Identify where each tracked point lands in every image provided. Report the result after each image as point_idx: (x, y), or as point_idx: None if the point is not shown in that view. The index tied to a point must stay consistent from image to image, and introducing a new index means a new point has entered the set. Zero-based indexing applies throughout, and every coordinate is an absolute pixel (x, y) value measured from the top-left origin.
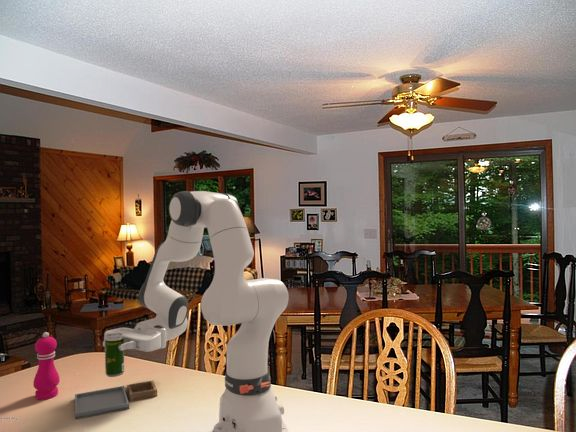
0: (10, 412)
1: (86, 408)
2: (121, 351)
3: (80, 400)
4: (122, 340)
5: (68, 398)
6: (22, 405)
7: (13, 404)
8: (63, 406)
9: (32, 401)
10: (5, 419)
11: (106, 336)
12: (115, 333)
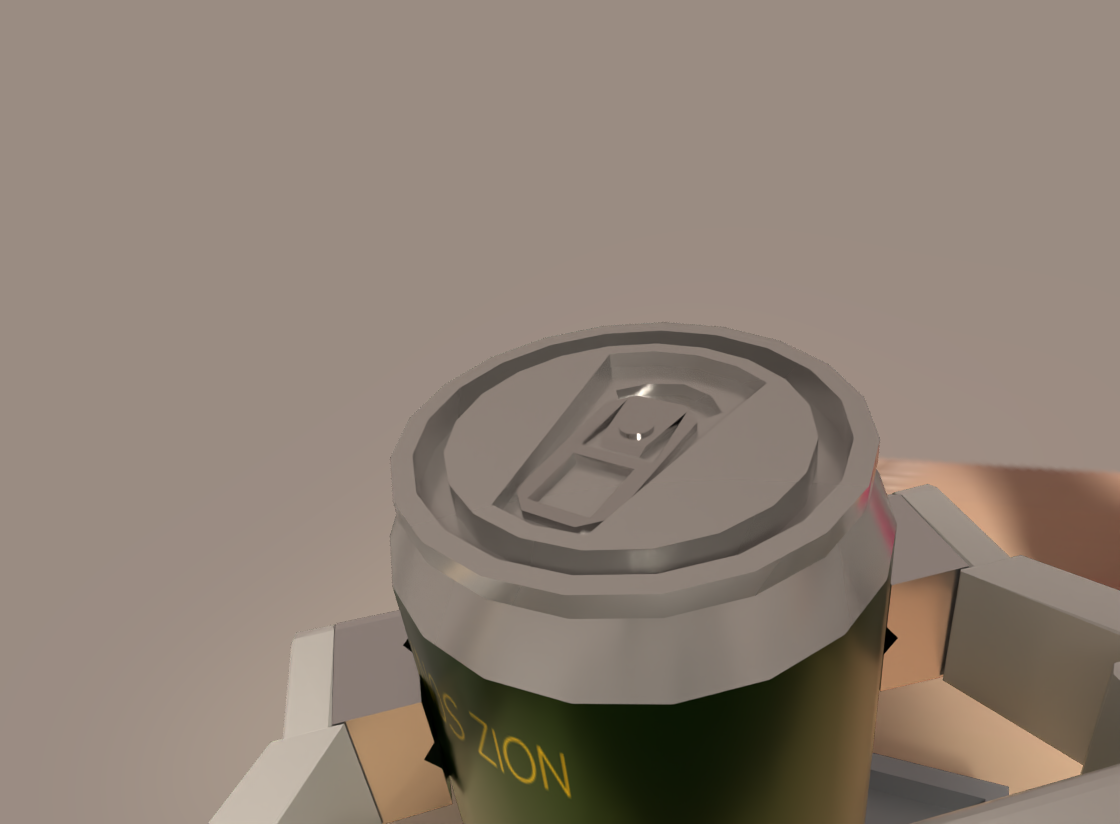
0: (964, 482)
1: None
2: (461, 809)
3: (877, 817)
4: (427, 662)
5: (1054, 781)
6: (1060, 532)
7: (1109, 502)
8: None
9: (1117, 580)
10: None
11: (646, 329)
12: (766, 475)
